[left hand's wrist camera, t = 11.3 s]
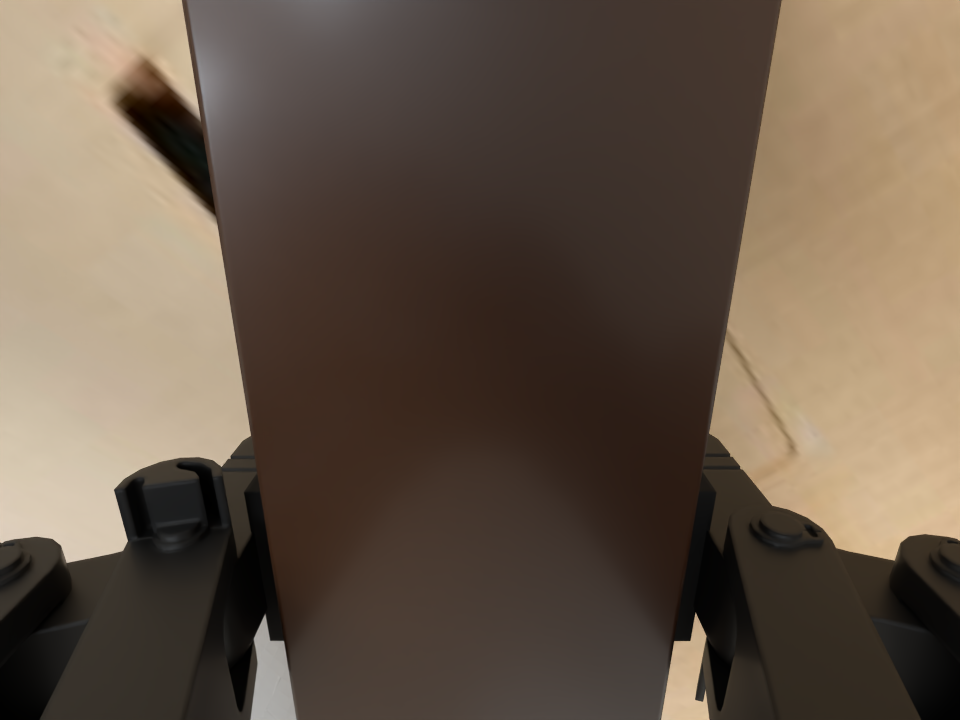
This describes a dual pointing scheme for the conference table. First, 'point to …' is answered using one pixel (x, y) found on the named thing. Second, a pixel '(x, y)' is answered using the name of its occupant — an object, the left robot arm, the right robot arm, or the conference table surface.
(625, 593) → the beam
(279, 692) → the projector
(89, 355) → the conference table surface
